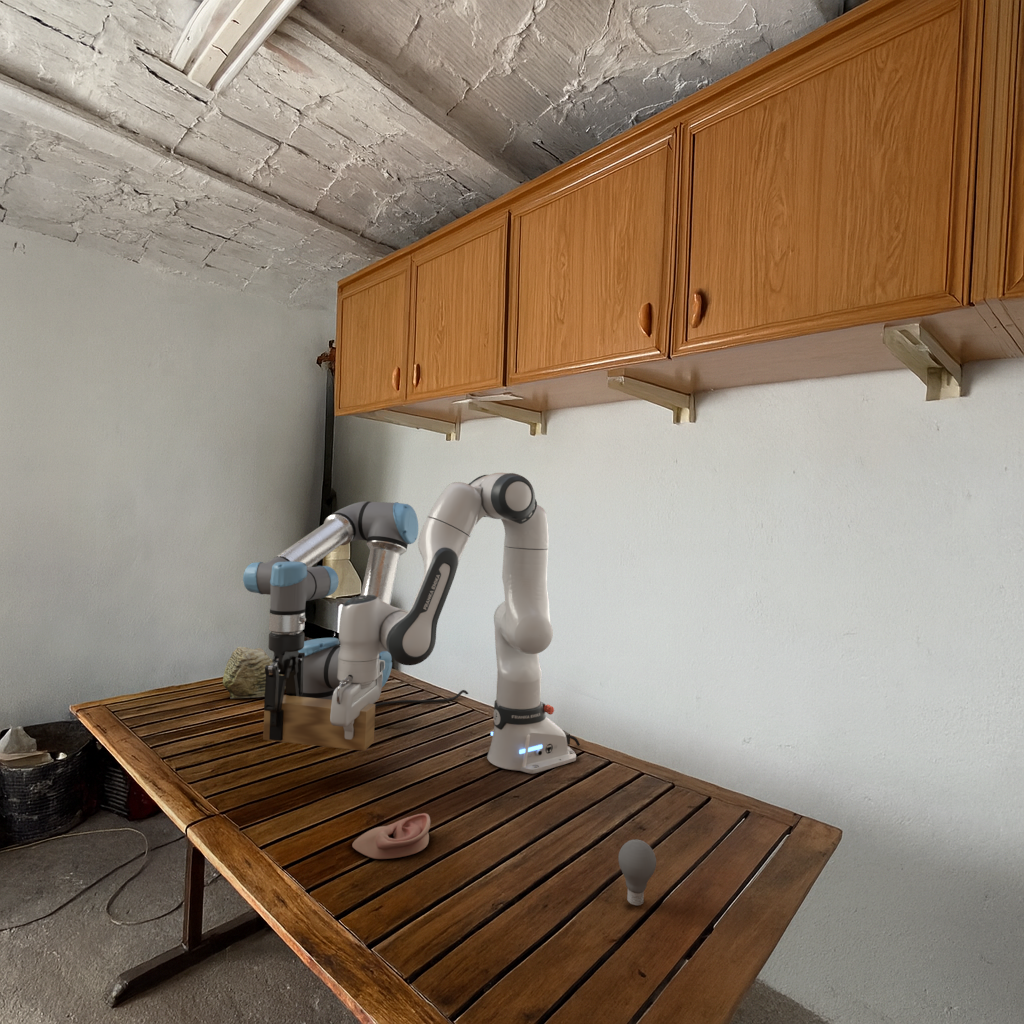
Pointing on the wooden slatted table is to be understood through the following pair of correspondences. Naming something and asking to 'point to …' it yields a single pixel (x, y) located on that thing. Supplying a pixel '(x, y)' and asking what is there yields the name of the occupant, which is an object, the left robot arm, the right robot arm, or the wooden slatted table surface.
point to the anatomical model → (395, 838)
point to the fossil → (246, 673)
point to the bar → (321, 724)
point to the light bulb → (636, 868)
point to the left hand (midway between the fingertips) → (283, 734)
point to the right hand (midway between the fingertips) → (355, 732)
